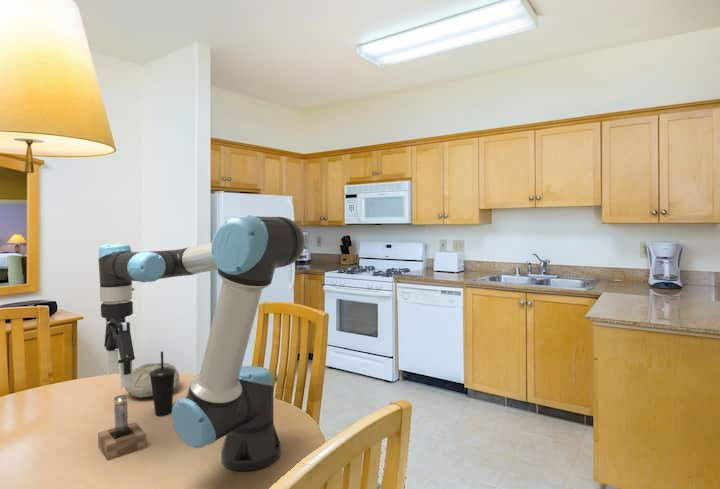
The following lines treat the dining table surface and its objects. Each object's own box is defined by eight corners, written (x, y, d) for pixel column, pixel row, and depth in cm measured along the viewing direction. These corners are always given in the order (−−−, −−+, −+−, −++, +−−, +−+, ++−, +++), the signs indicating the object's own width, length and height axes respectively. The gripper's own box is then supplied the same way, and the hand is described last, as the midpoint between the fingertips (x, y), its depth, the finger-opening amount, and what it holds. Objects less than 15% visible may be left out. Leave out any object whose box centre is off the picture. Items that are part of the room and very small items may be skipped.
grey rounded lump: (175, 400, 151) (174, 372, 150) (118, 405, 147) (117, 376, 146) (183, 382, 168) (182, 356, 168) (133, 386, 164) (132, 360, 164)
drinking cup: (145, 415, 139) (143, 353, 138) (165, 406, 146) (164, 347, 145) (161, 420, 136) (159, 356, 135) (181, 410, 142) (180, 350, 141)
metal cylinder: (129, 447, 119) (128, 397, 118) (117, 451, 117) (115, 400, 116) (127, 443, 121) (125, 393, 121) (114, 447, 119) (113, 396, 119)
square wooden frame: (146, 447, 119) (145, 433, 119) (107, 460, 113) (106, 445, 112) (135, 435, 126) (135, 422, 126) (98, 447, 119) (97, 432, 119)
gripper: (146, 305, 110) (149, 388, 111) (119, 294, 129) (122, 365, 130) (113, 309, 105) (116, 396, 106) (90, 298, 124) (93, 371, 125)
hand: (119, 379), depth 118 cm, fingers open, 13 cm apart
